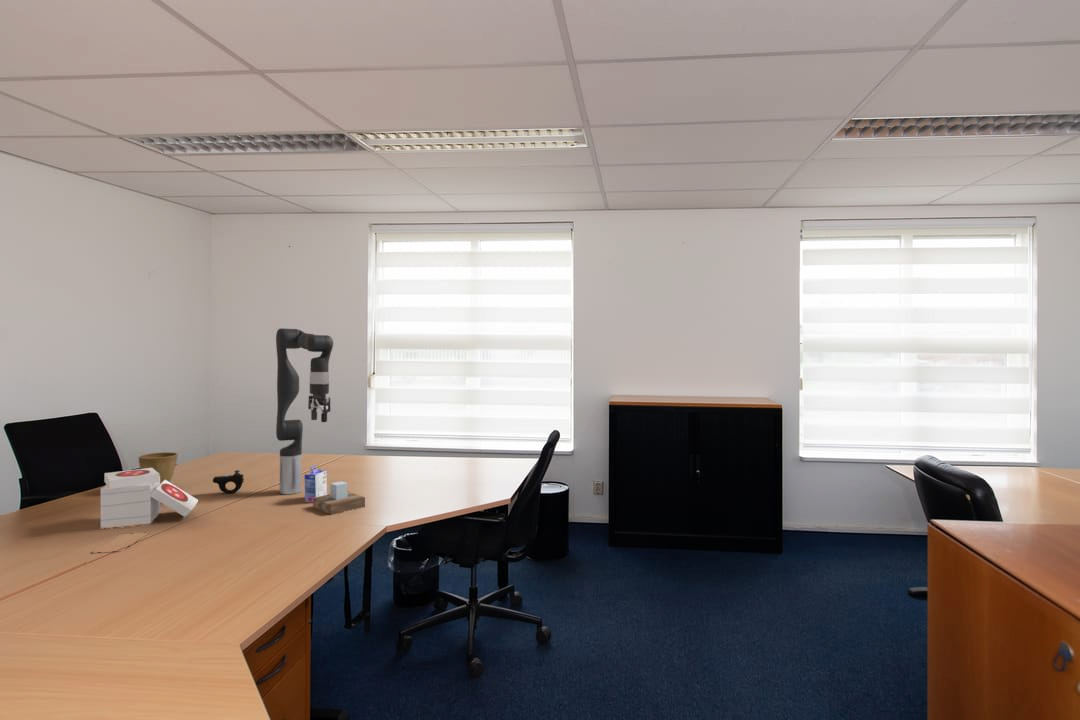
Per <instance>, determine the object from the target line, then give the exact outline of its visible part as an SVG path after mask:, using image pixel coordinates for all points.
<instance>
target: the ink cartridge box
mask: <svg viewBox="0 0 1080 720" xmlns="http://www.w3.org/2000/svg"><path fill="white" fill-rule="evenodd" d="M309 468H310V472H308V473H306V474H304V502H305V503H313V498H314V497H319V496H324V495H328V489H327V487H328V484H327V483H328V482H327V481H328V480H327V479H328V478H327V476H328V474H327V469H318V468H317V467H316V466H315V465H313V466H311V467H309Z"/></svg>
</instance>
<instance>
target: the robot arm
mask: <svg viewBox="0 0 1080 720" xmlns="http://www.w3.org/2000/svg"><path fill="white" fill-rule="evenodd" d="M333 346H334V340H333V338H332V336H330V335H329V334H328V335H326V334H325V335H323V334H314V333H306V332H305V331H303V330H301V329H297V328H278V329H277V330H276V334H275V347H276V348H275V349H276V358H277V362H276V363H277V371H276V373H277V374H276V375H277V377H276V392H277V393H276V394H277V397H276V398H277V399H276V400H277V410H276V411H277V413H276V415H277V416H276V423H275V425H276V427H275V428H276V429H275V432H276V433H275V434H276V439H277V440H278V441H281V442H282V441H284V442H285V441H293V442H291V443H290V444H289V445H286V446H284V447H281V448H280V450H279V494H281V495H292V494H293V495H294V494H297V493H301V492H302V491H303V490H302V489H303V487H302V484H303V482H302V477H303V476H302V475H303V474H302V473H303V471H302V469H303V468H302V465H303V464H302V463H303V461H302V459H303V458H302V457H303V454H302V453H303V446H302V445H303V421H302V420H300V419H285V418H286V415H287V412H288V410H289V408H290V407H291V405H292V404H293V403H294V401H295V400H296V398H297V396H299V393H300V376H299V374H298V372H297V370H296V369H295V368H294V366H293V365H292V364H291V362H290V360H289V356H288V353H287V349H288V350H289V349H290V350H295V349H304V350H307V351H308V352H311V353H312V352H314V353H320V356H317V357H313V358H311V359H310V372H309V373H310V374H309V394H310V395H308V401H307V402H308V405H307V407H308V410H309V411H310V416H311V417H310V419H311V421H317V420H318V409H319V410H320V413H321V414H320V417H321V418H320V422H321V423H327V422H328V413H329V412H330V413H331V397H327V395H328V394H329V392H330V374H329V361H330V358H331V355H332V351H333Z"/></svg>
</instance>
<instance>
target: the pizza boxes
mask: <svg viewBox="0 0 1080 720" xmlns="http://www.w3.org/2000/svg"><path fill="white" fill-rule="evenodd" d="M103 481H104V483H105V485H104V486H103V487H101V488H100V528H101V527H111V526H122V525H134V524H146V523H151V522H152V521H153V520H154V519H155V517H156V516H157V515H158V514H159V513H160V514H161V504H162V505H164V506H166V507H167V508H169V509H171V510H173V511H174V512H175V513H177V514H180V515H181V516H182V517H184V518H186V517H187V516H188V515H189V514H190V513H191V512H192V511H193V509H194V508H195V506H196V505H197V503H198V501H199V499H197V498H195V497H194V496H192V495H191V494H189V493H187V492H186V491H184V490H183V489H181V488H179V487H178V486H176V485H174V484H173V483H172V482H171V481H170V482H168V481H167V480H164V481H163V482H162V483H161V484H160V474H159V473H158V472H157V471H155V470H154V469H153V468H145V469H140V468H138V469H130V470H129V469H128V470H122V471H120V470H119V471H112V472H111V471H110V472H104V480H103ZM160 514H159V515H160ZM159 515H158V516H159ZM158 516H157V517H158ZM157 517H156V518H157ZM155 520H156V519H155ZM155 520H154V521H155ZM154 521H153V522H154ZM153 522H152V523H153ZM152 523H151V524H152Z"/></svg>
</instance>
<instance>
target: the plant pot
mask: <svg viewBox="0 0 1080 720" xmlns="http://www.w3.org/2000/svg"><path fill="white" fill-rule="evenodd" d="M178 455H179V454H178V453H177V452H153V453H152V452H150V453H147V454H145V453H144V454H141V455H138V458H137V459H138V463H139V469H145V468H153V469H154V470H155V471H157V472H158V473H159V474H160V484H161V483H162V482H163V481H164V480H167V481H168V482H170V483H171V480H172V478H173V475H174V473H175V469H176V465H177V460H178Z"/></svg>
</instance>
